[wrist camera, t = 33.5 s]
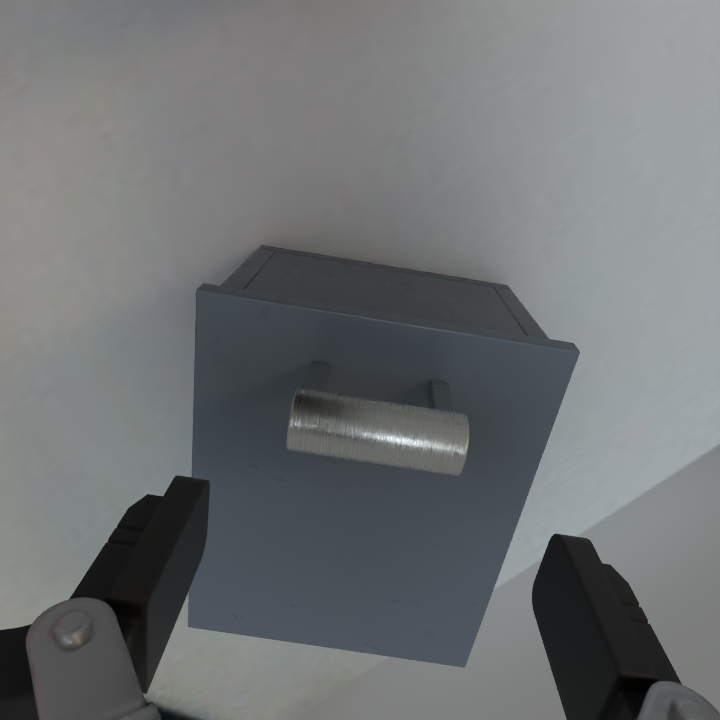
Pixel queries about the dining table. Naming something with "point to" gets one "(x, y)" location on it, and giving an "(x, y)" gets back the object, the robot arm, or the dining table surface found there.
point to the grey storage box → (384, 290)
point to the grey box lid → (361, 470)
